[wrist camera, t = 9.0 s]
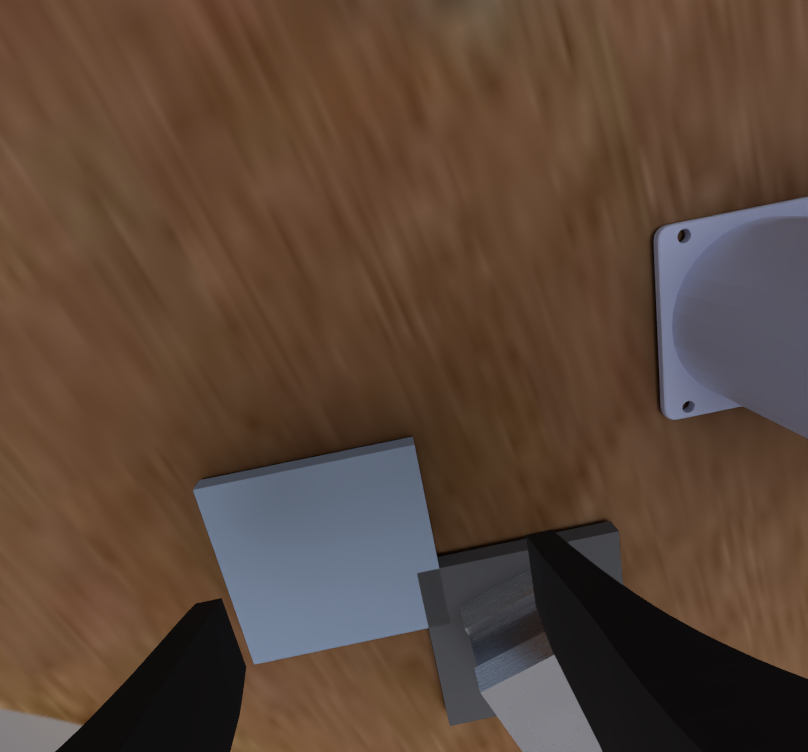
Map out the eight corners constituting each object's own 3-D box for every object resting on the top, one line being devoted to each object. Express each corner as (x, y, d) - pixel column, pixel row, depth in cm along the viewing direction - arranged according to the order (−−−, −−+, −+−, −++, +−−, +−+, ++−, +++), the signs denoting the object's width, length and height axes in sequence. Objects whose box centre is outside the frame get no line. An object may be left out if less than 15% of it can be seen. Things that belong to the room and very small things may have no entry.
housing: (592, 654, 25) (640, 745, 21) (518, 691, 25) (549, 789, 21) (538, 563, 23) (578, 642, 19) (459, 605, 23) (480, 693, 19)
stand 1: (412, 436, 22) (414, 444, 21) (447, 610, 24) (450, 623, 24) (199, 480, 22) (192, 490, 21) (257, 650, 24) (254, 664, 24)
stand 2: (610, 520, 24) (618, 531, 23) (622, 673, 26) (630, 687, 26) (415, 561, 24) (416, 573, 23) (447, 710, 26) (449, 725, 25)
